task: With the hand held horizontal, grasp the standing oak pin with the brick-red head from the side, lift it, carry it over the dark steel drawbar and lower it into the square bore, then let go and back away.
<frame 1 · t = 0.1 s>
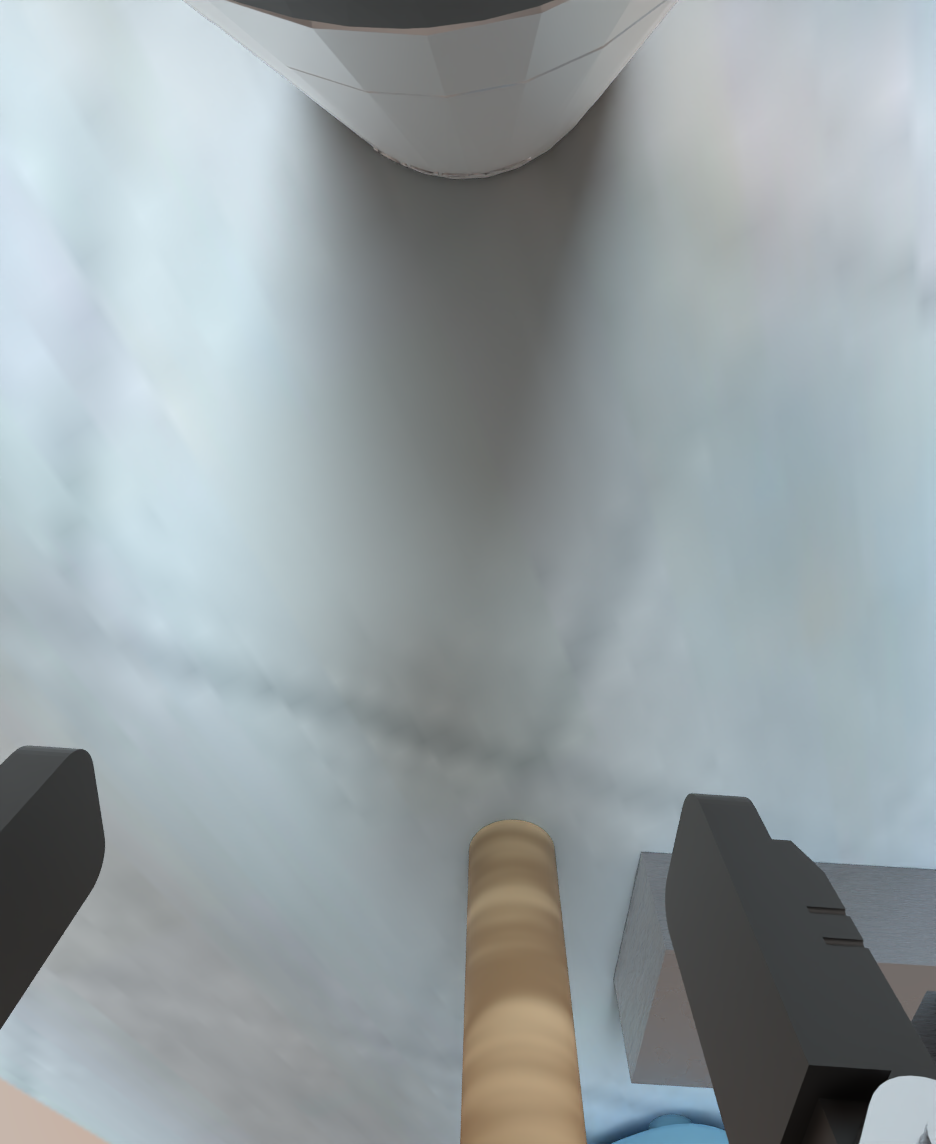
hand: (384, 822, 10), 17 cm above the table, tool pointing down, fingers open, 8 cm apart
steel drawbar: (910, 936, 35), on the table
oak pin: (511, 851, 33), on the table
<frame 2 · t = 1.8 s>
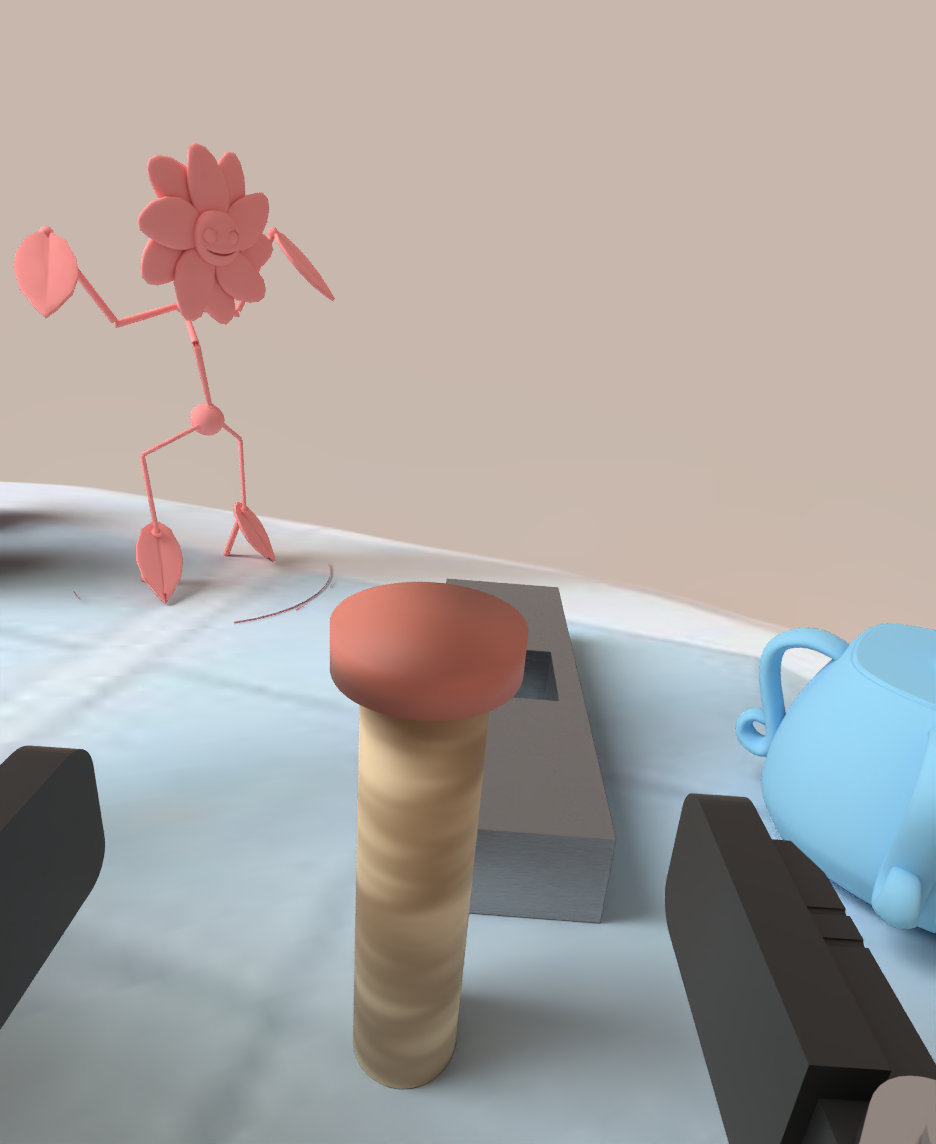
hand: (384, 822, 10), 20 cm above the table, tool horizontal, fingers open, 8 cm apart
steel drawbar: (499, 738, 46), on the table
oak pin: (405, 1034, 28), on the table
decorative pot: (900, 859, 39), on the table
figurine: (233, 589, 65), on the table
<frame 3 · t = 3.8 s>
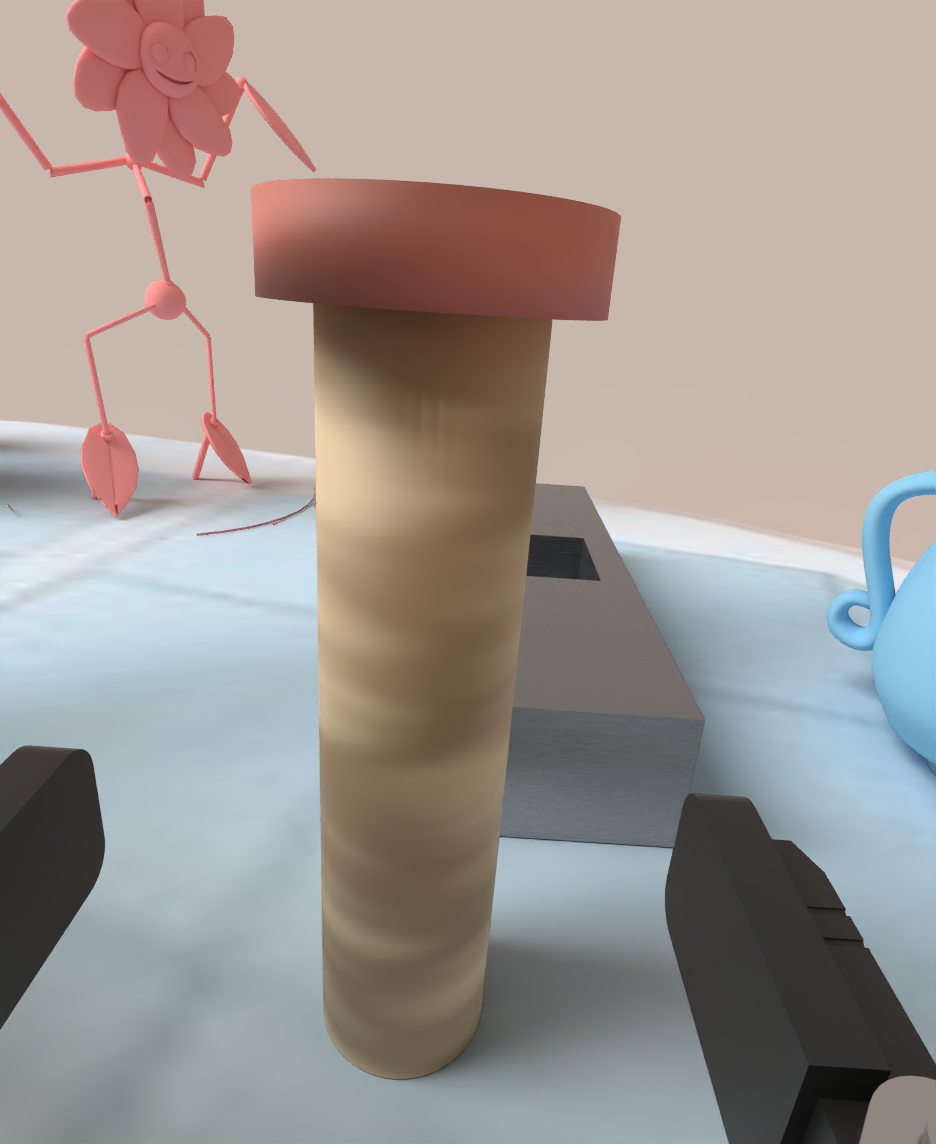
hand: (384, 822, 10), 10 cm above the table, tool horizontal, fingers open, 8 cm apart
steel drawbar: (521, 644, 37), on the table
oak pin: (403, 997, 18), on the table
figurine: (199, 507, 55), on the table
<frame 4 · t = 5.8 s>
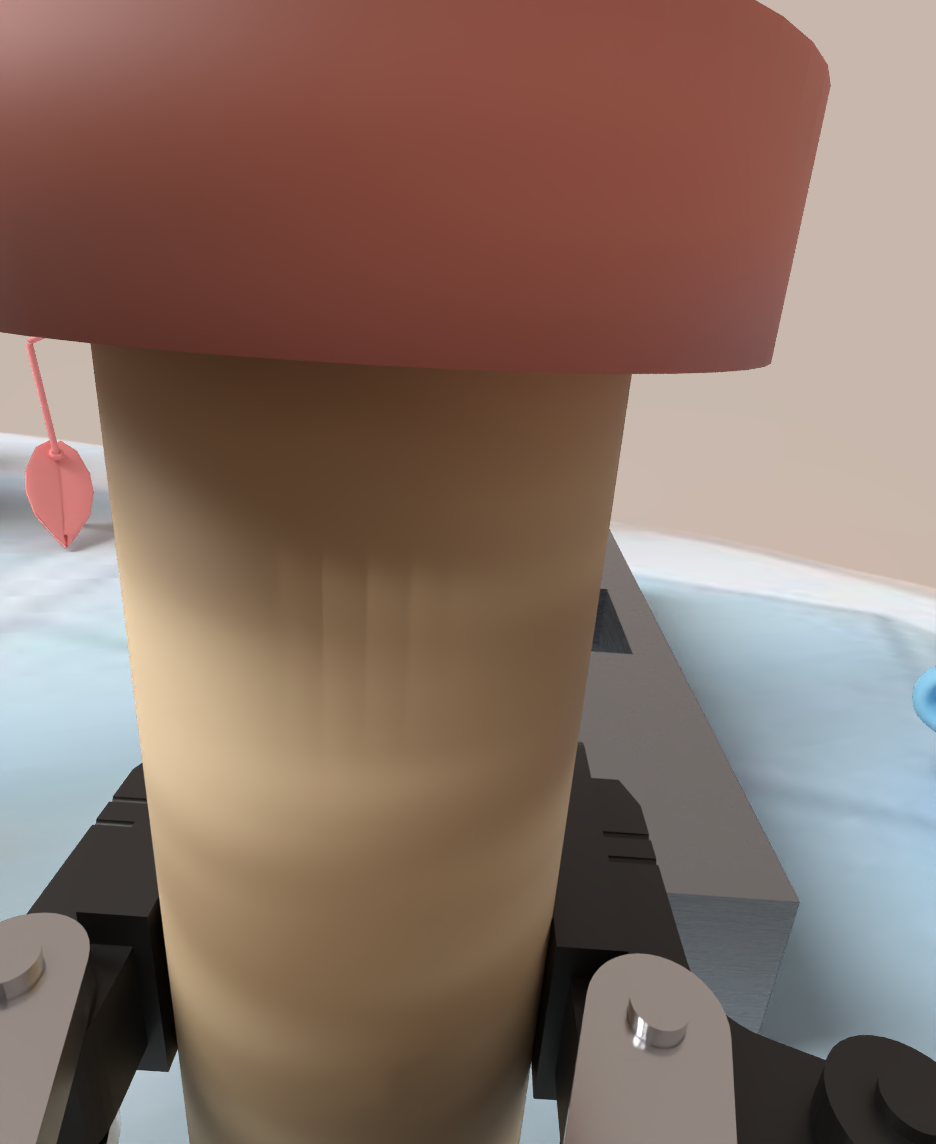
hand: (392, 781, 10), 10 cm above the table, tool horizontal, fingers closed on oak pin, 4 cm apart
steel drawbar: (531, 719, 30), on the table
figurine: (165, 534, 49), on the table
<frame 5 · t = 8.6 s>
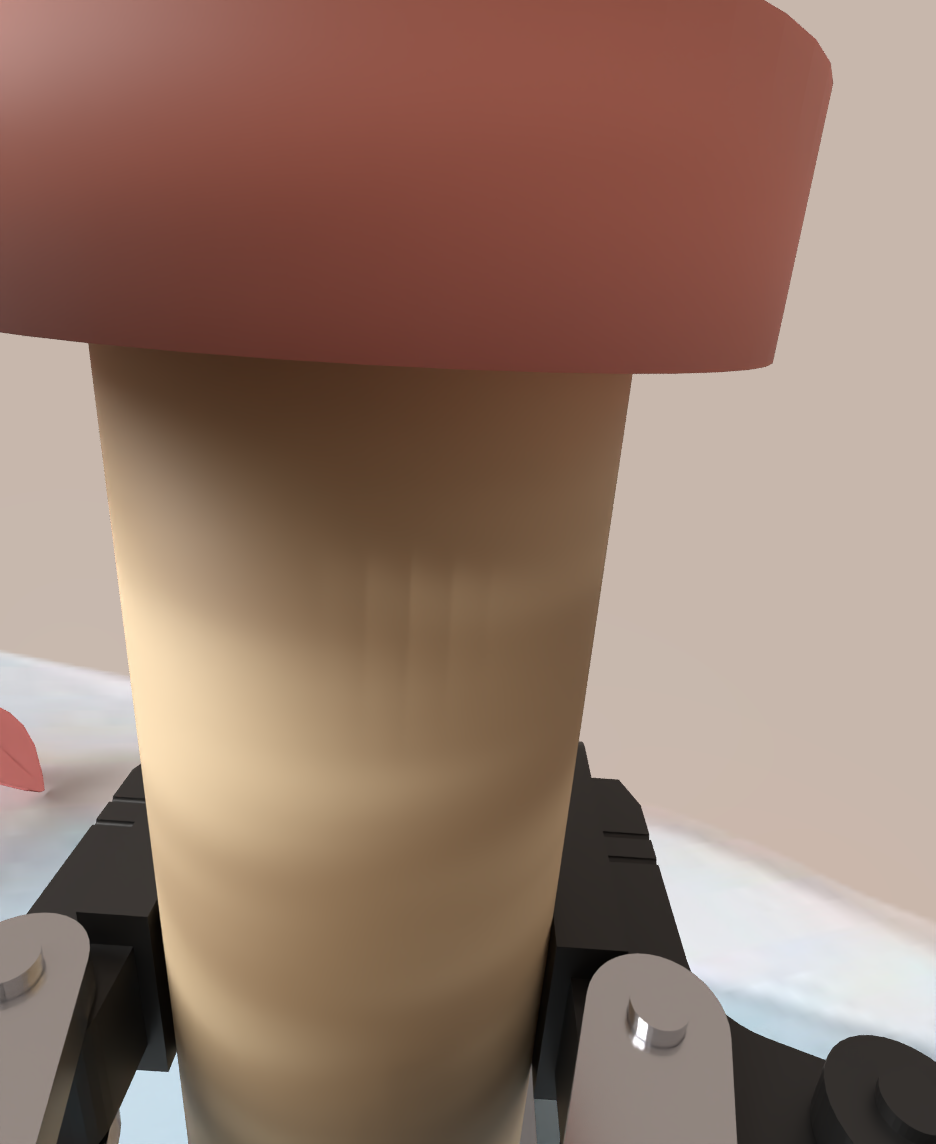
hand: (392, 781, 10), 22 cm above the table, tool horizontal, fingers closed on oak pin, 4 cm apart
when the fingers open (12 cm above the table, at t = 11.5 s): oak pin drops 2 cm, resting in steel drawbar.
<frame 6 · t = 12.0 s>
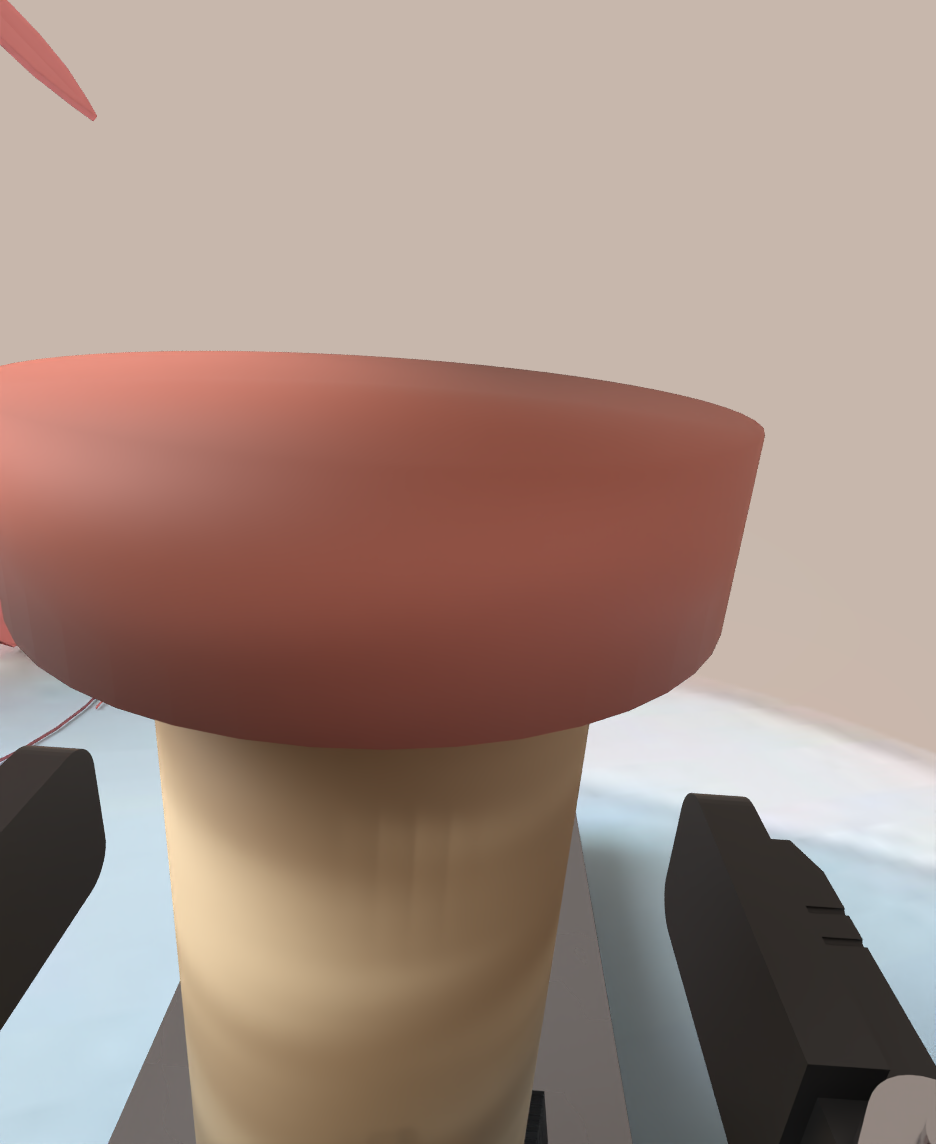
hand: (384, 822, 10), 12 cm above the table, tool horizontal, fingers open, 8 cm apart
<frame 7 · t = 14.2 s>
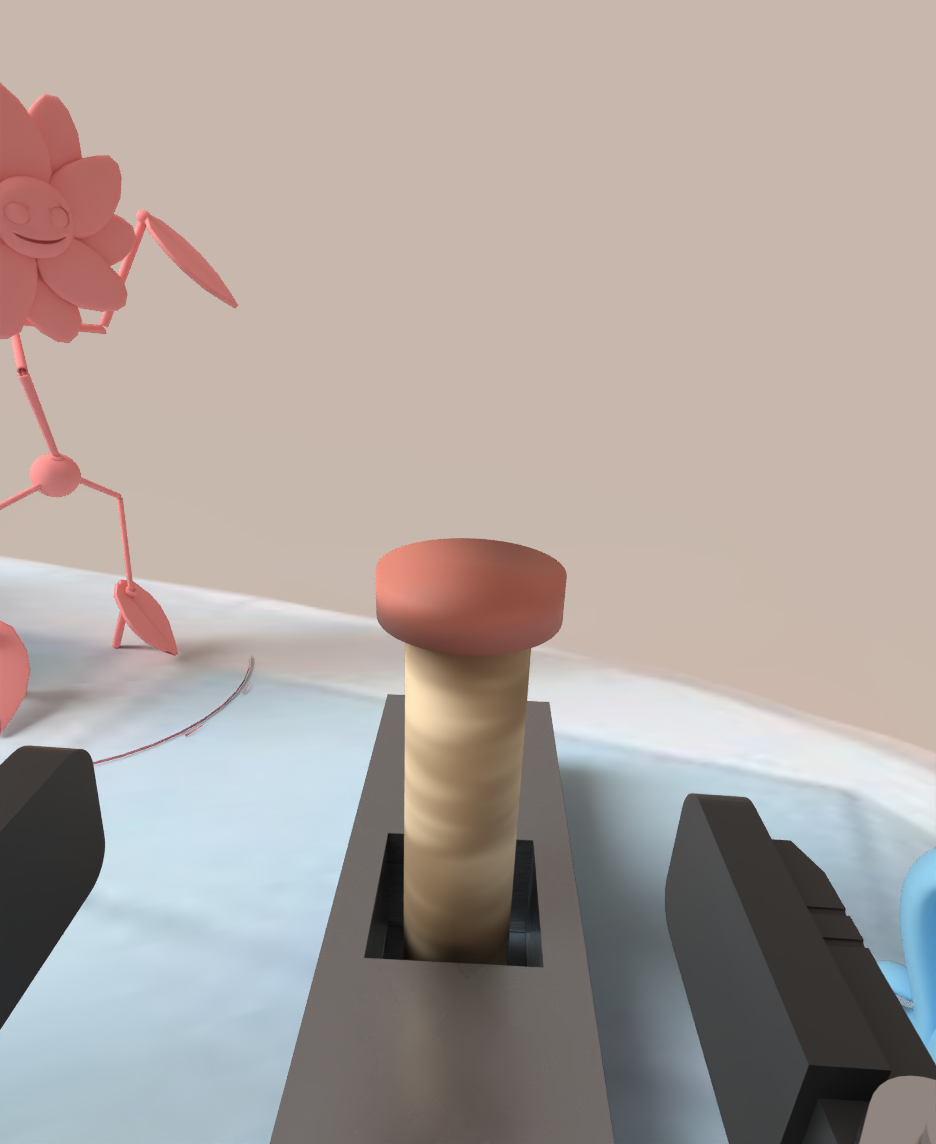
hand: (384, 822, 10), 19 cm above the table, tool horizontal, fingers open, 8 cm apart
steel drawbar: (453, 990, 28), on the table
oak pin: (453, 993, 28), resting in steel drawbar
figurine: (108, 702, 47), on the table
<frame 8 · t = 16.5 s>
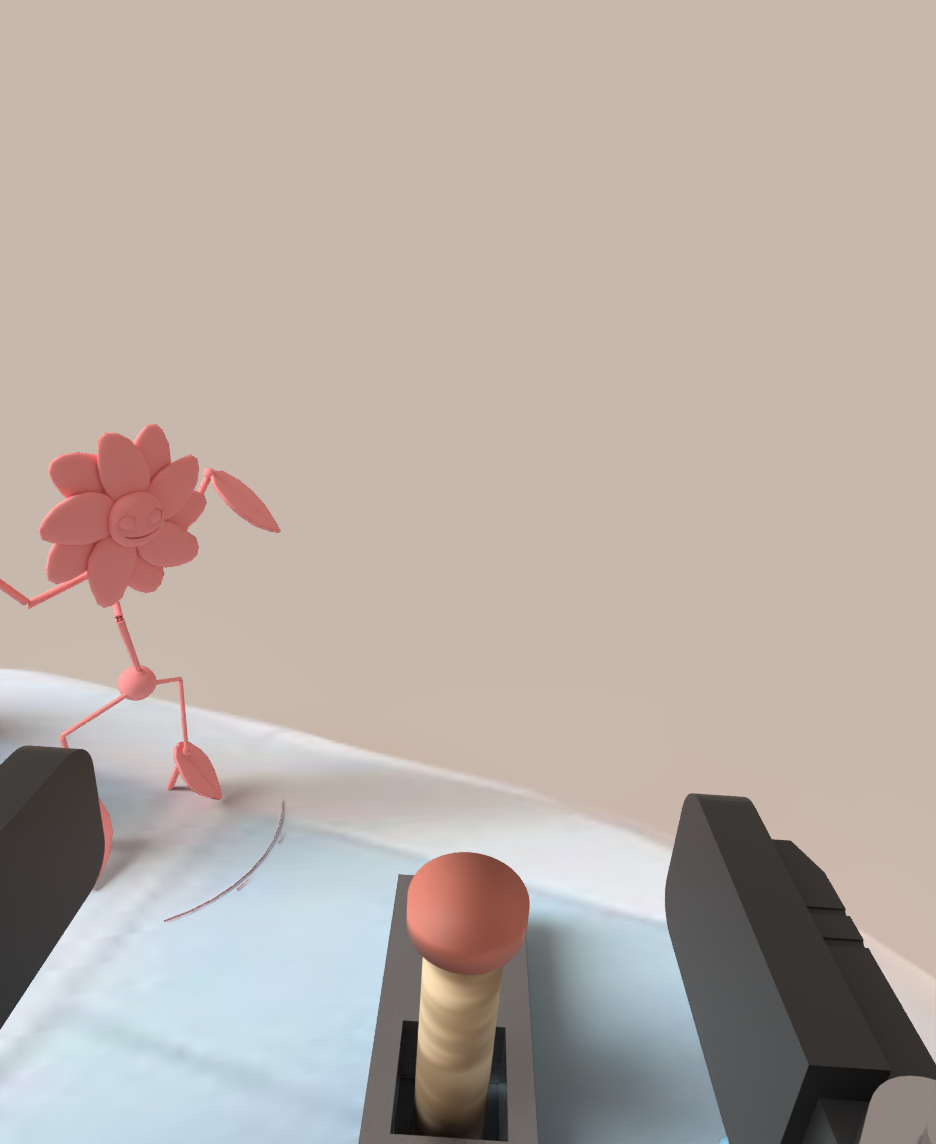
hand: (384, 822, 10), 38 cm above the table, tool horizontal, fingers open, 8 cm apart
steel drawbar: (446, 1135, 41), on the table
oak pin: (447, 1137, 40), resting in steel drawbar
figurine: (171, 851, 59), on the table
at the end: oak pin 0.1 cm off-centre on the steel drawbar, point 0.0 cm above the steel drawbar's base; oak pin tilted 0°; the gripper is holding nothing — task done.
